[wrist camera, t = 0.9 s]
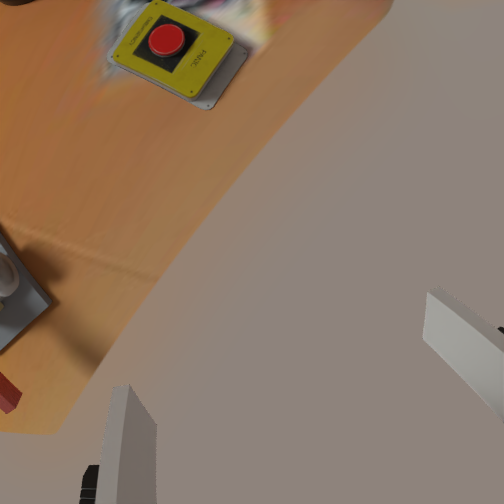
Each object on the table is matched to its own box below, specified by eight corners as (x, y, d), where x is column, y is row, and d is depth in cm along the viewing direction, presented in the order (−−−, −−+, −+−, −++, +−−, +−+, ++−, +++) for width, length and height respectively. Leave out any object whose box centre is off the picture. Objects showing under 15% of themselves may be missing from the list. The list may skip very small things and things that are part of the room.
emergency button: (143, -13, 23) (257, 43, 28) (147, 2, 27) (250, 53, 32) (94, 52, 25) (210, 110, 30) (104, 61, 29) (208, 113, 34)
